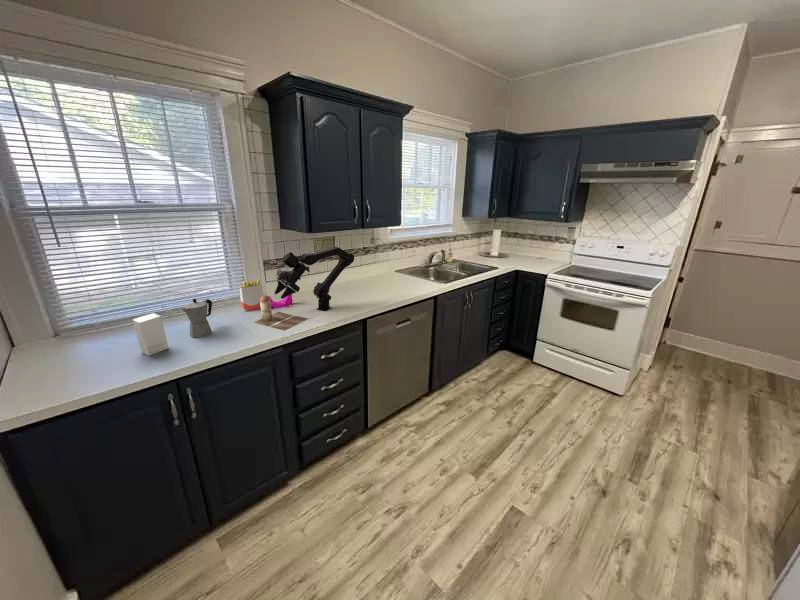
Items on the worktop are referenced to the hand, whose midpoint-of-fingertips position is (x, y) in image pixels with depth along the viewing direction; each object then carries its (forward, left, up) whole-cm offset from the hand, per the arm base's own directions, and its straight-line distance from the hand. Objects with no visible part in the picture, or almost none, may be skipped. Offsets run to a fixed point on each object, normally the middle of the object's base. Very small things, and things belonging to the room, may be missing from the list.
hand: (278, 296), depth 173 cm
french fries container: (-3, -24, -13) cm, 27 cm away
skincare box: (+52, -20, -13) cm, 58 cm away
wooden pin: (+6, -3, -12) cm, 14 cm away
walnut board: (+3, +4, -13) cm, 14 cm away
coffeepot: (+31, -19, -13) cm, 39 cm away
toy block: (-14, -14, -13) cm, 24 cm away
